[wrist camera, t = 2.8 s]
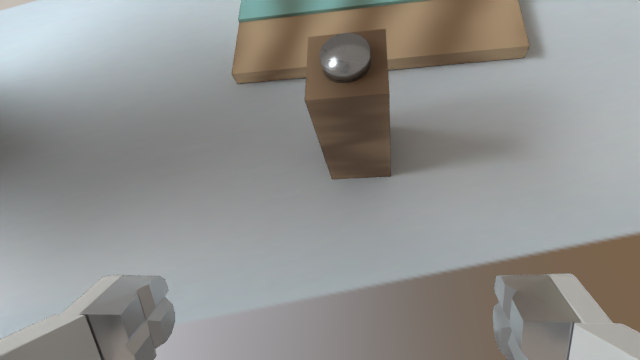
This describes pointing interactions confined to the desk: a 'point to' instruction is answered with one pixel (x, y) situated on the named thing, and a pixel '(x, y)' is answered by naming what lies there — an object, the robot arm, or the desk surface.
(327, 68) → the walnut post
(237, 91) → the desk surface
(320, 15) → the tan flat board
